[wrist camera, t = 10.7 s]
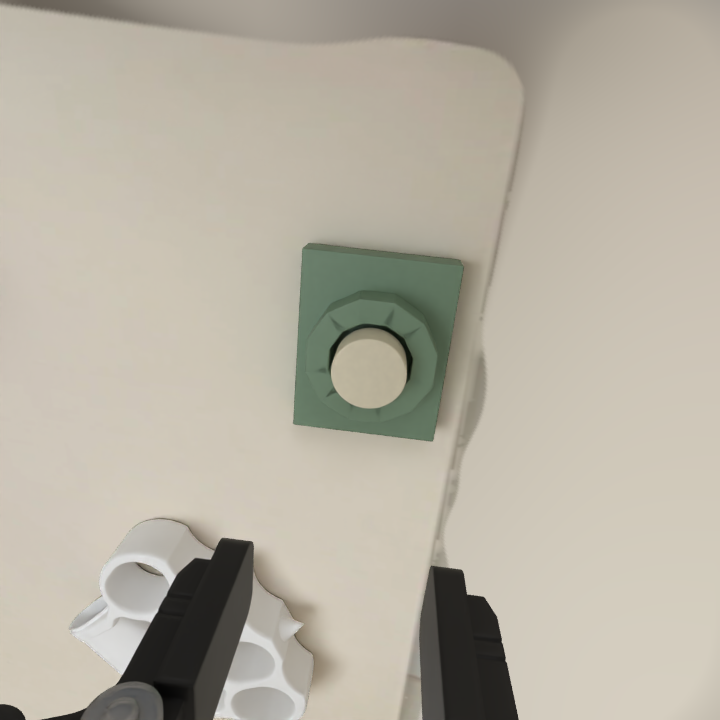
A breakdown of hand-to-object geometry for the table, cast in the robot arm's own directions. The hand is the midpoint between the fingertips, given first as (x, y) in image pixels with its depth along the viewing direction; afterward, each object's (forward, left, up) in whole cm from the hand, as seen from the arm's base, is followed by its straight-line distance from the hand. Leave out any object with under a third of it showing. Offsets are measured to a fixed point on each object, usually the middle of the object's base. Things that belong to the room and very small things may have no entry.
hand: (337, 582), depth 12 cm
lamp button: (0, 0, -14) cm, 14 cm away
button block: (0, 0, -17) cm, 17 cm away
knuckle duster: (+12, -22, -17) cm, 31 cm away
